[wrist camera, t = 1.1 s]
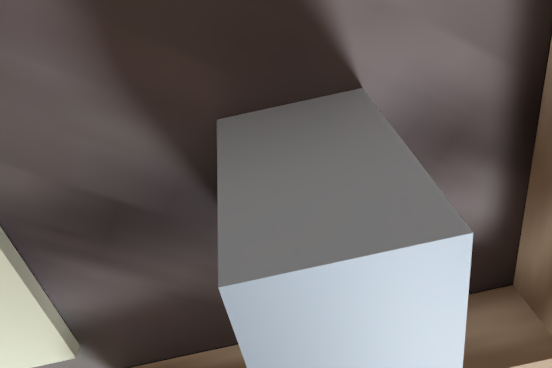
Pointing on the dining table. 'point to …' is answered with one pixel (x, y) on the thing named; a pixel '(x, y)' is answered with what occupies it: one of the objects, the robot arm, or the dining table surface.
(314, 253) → the block
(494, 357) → the u-shaped wooden frame
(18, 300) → the pad
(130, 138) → the dining table surface
